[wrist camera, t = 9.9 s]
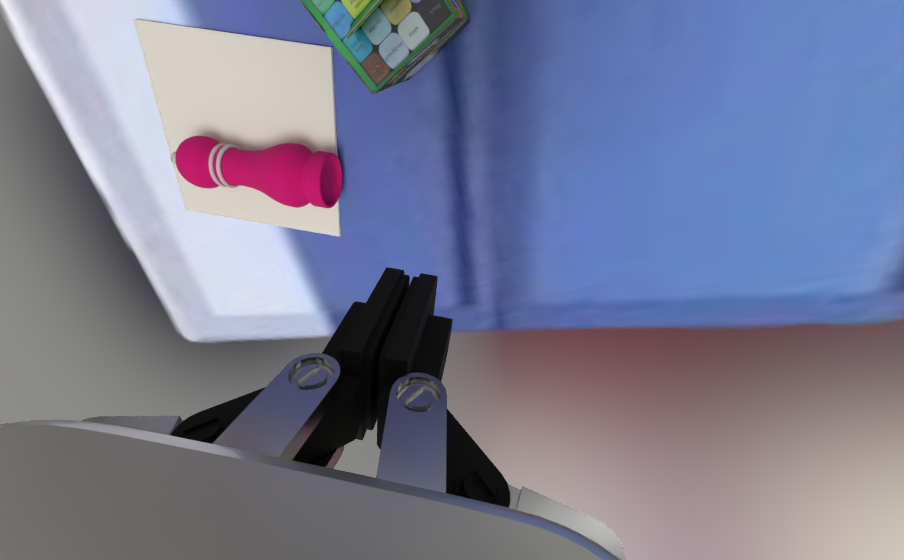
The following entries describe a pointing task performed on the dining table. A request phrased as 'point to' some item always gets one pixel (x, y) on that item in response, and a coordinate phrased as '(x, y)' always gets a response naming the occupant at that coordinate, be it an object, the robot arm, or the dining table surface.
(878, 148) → the dining table surface
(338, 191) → the pepper mill
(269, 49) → the rubber mat
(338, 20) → the chalk box
